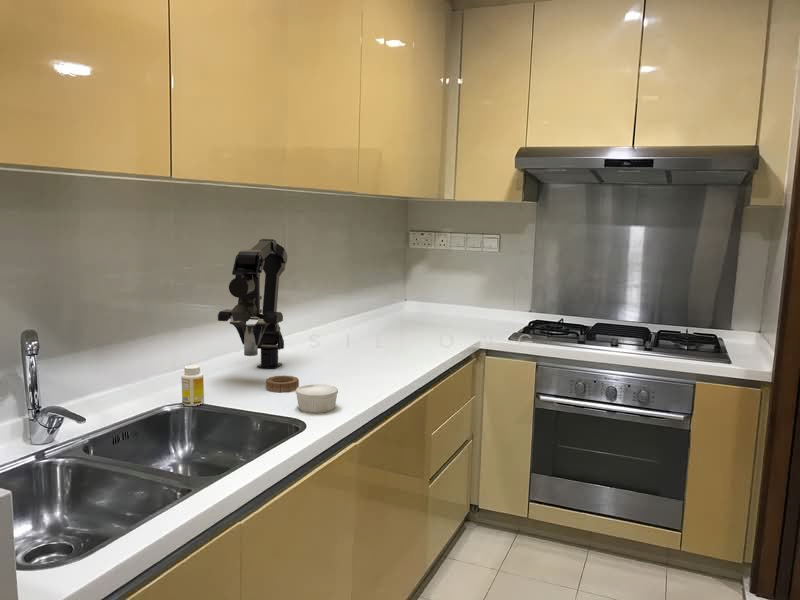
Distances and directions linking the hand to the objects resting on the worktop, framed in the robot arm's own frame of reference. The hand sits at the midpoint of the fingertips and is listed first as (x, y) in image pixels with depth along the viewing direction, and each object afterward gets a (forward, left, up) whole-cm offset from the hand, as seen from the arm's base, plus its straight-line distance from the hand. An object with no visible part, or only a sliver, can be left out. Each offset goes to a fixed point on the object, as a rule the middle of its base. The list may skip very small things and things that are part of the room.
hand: (250, 344), depth 199 cm
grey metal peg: (0, 0, -3) cm, 3 cm away
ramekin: (+21, +28, -12) cm, 37 cm away
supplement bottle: (+26, -5, -12) cm, 29 cm away
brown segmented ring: (+5, +12, -11) cm, 17 cm away
